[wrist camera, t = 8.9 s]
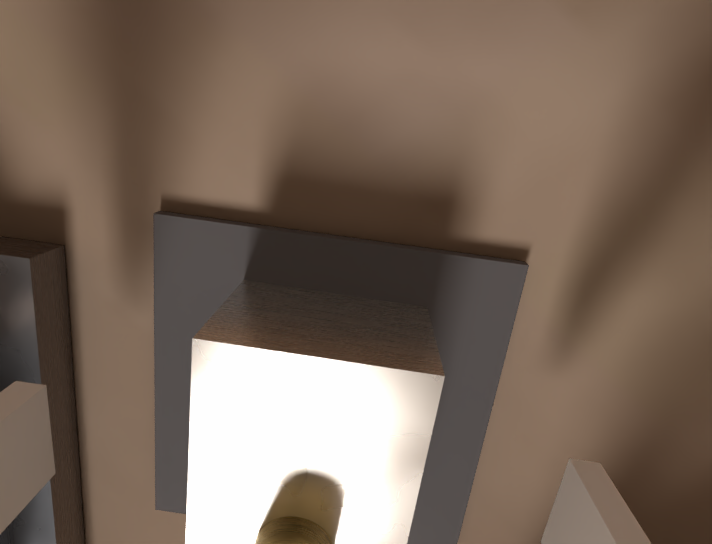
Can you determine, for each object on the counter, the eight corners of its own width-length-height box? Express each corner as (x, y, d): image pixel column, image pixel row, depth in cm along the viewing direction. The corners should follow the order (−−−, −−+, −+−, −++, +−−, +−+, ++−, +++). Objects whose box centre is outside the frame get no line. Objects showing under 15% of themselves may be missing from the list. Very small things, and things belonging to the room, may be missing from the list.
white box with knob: (243, 279, 14) (149, 387, 8) (427, 307, 14) (459, 434, 8) (229, 490, 16) (148, 686, 11) (385, 514, 16) (388, 723, 11)
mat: (159, 210, 14) (153, 213, 13) (524, 261, 14) (528, 265, 13) (160, 501, 17) (155, 509, 17) (453, 543, 17) (454, 552, 17)
